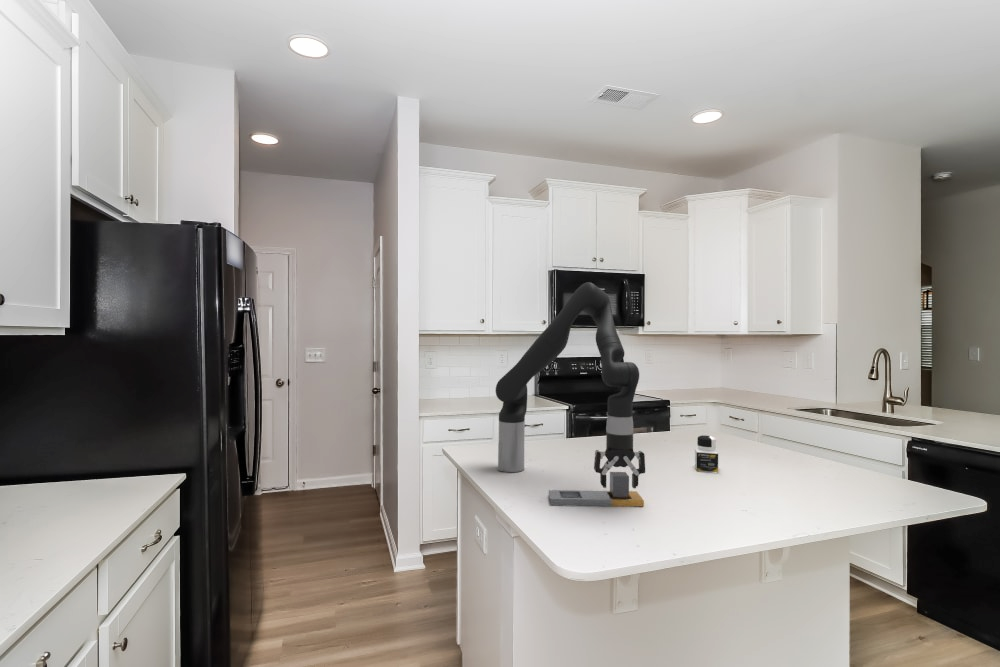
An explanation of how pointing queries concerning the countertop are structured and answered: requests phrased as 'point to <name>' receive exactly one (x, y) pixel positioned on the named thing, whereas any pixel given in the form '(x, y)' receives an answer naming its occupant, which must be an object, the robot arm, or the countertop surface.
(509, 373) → the robot arm
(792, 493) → the countertop surface
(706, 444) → the medicine bottle
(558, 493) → the rail
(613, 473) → the grey rectangular block
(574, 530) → the countertop surface
